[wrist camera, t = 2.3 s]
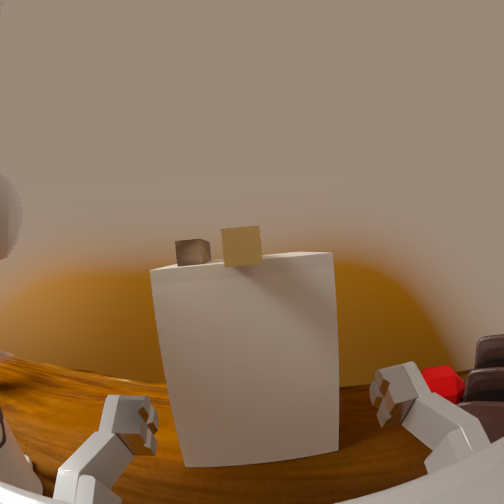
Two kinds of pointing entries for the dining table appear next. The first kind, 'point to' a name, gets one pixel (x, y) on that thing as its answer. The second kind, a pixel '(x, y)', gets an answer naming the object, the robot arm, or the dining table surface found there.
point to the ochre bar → (241, 246)
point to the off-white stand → (250, 358)
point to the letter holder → (487, 387)
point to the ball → (445, 383)
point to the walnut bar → (192, 252)
